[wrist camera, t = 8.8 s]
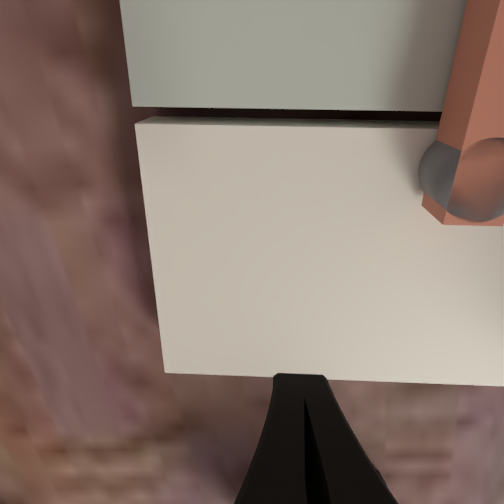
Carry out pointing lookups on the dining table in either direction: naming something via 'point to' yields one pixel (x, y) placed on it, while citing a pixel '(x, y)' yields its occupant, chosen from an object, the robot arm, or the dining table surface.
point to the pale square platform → (307, 194)
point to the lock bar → (470, 127)
